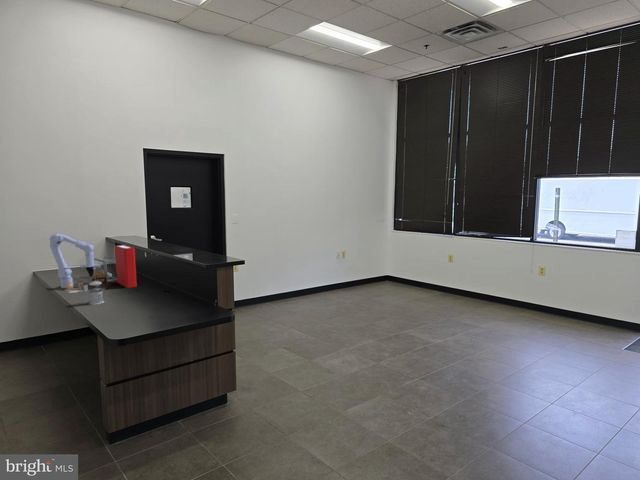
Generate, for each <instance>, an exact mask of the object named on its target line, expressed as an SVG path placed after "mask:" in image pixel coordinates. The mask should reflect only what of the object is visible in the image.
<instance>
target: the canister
mask: <svg viewBox="0 0 640 480" xmlns="http://www.w3.org/2000/svg"><path fill="white" fill-rule="evenodd" d="M66 287H67V288H66V289H67V290H66V291H74V290H73V288H74V282H73V283H68V284H66Z"/></svg>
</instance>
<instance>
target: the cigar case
mask: <svg viewBox="0 0 640 480" xmlns="http://www.w3.org/2000/svg"><path fill="white" fill-rule="evenodd" d="M101 270H102V271H101ZM103 271H104V274H103ZM101 272H102V274H101ZM91 280H92V281H91V282H94V281H99V282H101V283H102V284H107V282H108V281H107V280H106V270H105V269H104V268H103V269H99V270H98V269H97V270H95V274H94V272H93V276H92V277H91Z"/></svg>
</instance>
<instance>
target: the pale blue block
mask: <svg viewBox="0 0 640 480" xmlns="http://www.w3.org/2000/svg"><path fill="white" fill-rule="evenodd" d="M87 291H89V284H83V289H81V290H69V291H68V292H67V293H68V294H69V293H70V294H71V293H75V294H76V293H86V292H87Z"/></svg>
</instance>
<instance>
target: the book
mask: <svg viewBox="0 0 640 480" xmlns="http://www.w3.org/2000/svg"><path fill="white" fill-rule="evenodd" d="M114 255H115V260H116V261H115V268H116V278H117V280H116V283H117V284H119V285H121V286H123V287H124V288H127V289H129V288H130V289H131V288H136V287H138V283H137V267H136V266H137V265H136V249H135V247H134V246H132V245H129V244H125V243H124V244H122V245H115V244H114Z"/></svg>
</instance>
